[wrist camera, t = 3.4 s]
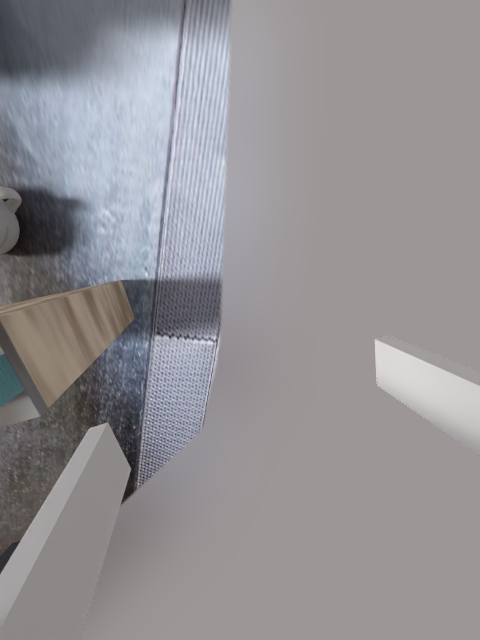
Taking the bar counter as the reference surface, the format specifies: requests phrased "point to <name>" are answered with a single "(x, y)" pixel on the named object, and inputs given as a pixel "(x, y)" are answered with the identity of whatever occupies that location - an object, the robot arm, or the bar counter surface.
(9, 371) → the teal and grey bar
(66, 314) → the pedestal
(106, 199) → the bar counter surface
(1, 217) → the teacup
